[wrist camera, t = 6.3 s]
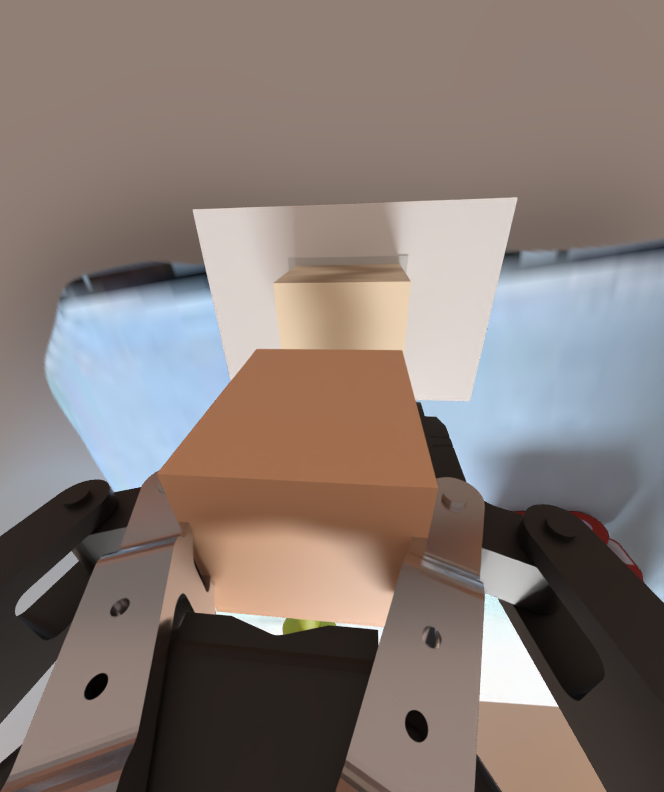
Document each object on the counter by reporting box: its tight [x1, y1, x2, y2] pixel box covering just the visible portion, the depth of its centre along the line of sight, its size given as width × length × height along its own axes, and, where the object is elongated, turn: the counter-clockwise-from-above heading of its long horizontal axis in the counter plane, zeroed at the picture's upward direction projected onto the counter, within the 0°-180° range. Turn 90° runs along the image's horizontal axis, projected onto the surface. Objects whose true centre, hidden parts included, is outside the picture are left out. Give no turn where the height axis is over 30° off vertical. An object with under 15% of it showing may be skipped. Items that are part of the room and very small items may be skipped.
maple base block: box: [273, 264, 411, 355], centre depth 20 cm, size 7×7×6 cm
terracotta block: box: [157, 349, 438, 627], centre depth 9 cm, size 5×5×6 cm
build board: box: [193, 197, 517, 401], centre depth 23 cm, size 20×14×1 cm
